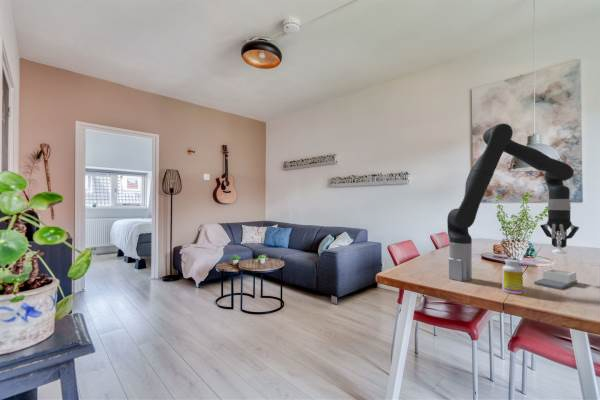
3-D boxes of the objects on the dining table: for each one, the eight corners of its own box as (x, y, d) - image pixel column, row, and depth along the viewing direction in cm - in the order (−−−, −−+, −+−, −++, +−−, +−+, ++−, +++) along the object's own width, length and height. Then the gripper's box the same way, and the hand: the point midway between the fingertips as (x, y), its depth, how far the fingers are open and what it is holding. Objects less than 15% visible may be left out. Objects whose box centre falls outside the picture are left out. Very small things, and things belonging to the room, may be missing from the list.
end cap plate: (560, 289, 118) (560, 278, 118) (534, 284, 126) (534, 273, 126) (576, 282, 129) (576, 272, 129) (551, 278, 137) (551, 268, 137)
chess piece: (549, 251, 132) (548, 230, 132) (558, 251, 133) (558, 230, 133) (559, 253, 127) (559, 231, 127) (569, 253, 128) (569, 231, 128)
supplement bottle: (525, 295, 112) (525, 262, 112) (505, 293, 114) (505, 261, 114) (519, 290, 118) (518, 259, 118) (500, 288, 120) (499, 258, 120)
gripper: (536, 208, 134) (537, 245, 134) (576, 209, 122) (576, 250, 122) (543, 208, 138) (543, 244, 138) (582, 209, 126) (582, 248, 126)
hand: (559, 247), depth 130 cm, fingers closed on chess piece
